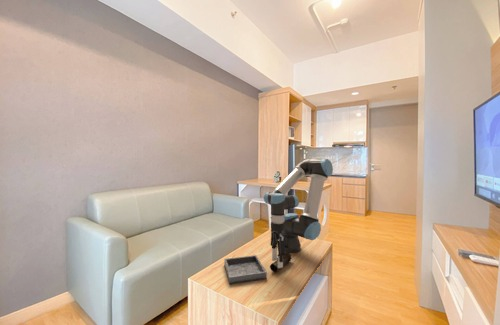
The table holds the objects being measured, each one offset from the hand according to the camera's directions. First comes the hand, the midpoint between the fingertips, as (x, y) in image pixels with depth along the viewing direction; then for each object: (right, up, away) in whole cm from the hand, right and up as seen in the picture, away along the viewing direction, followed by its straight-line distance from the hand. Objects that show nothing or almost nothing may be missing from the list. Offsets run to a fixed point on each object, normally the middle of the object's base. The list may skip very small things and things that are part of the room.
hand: (277, 263), depth 109 cm
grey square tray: (-18, -4, -1) cm, 19 cm away
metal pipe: (0, -7, -1) cm, 7 cm away
